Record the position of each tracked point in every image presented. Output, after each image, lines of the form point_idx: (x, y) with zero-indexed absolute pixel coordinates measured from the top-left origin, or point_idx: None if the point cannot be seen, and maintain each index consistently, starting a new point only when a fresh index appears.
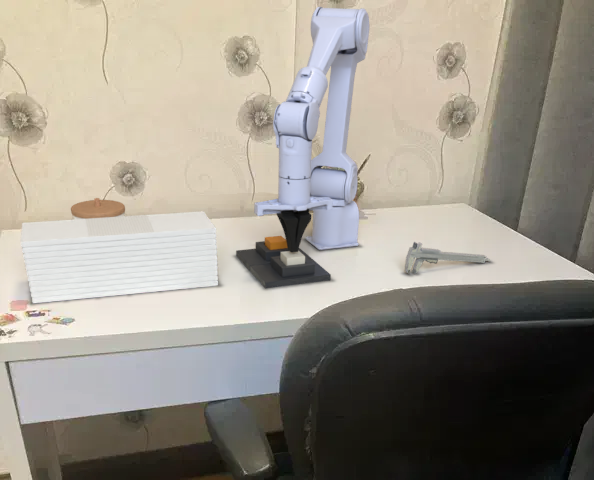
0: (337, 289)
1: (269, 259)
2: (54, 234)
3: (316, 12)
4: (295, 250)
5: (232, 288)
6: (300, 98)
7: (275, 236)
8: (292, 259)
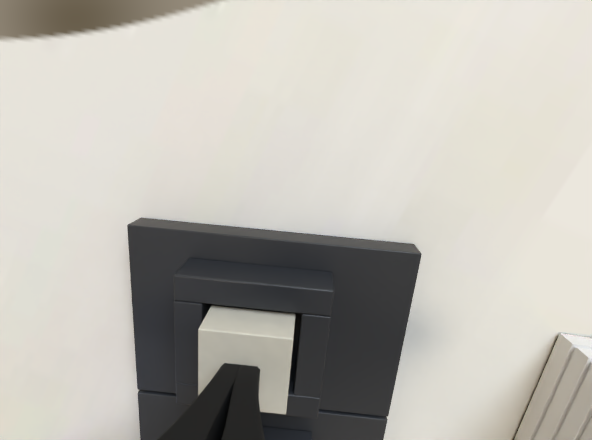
0: (148, 123)
1: (297, 434)
2: None
3: None
4: (237, 368)
5: (524, 293)
6: None
7: None
8: (266, 330)
